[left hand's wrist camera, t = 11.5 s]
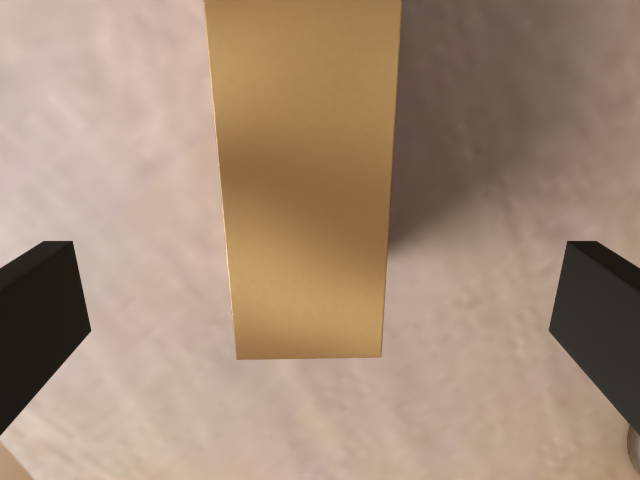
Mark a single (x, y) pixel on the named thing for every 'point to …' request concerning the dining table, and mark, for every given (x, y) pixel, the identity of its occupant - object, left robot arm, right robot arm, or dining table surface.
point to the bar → (305, 169)
